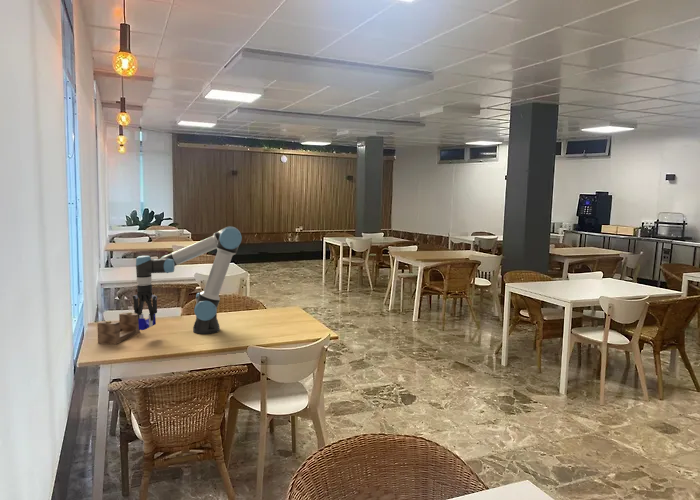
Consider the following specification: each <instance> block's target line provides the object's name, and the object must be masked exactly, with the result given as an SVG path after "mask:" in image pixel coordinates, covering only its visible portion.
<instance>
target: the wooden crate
mask: <svg viewBox="0 0 700 500" xmlns="http://www.w3.org/2000/svg"><path fill="white" fill-rule="evenodd" d="M118 318H119V321H111V320H107V321H106V320H105V321H104V320H101V321H99V322H97V344H103V345H104V344H105V345H106V344H107V345H117V344H119V343H122V342H124V341H125V340H128V339H129V338H132V337H134V336H135V335H137V334H140V332H141V330H139V321H138V314H135V313H134V312H132V311H131V312H121V313H119V315H118Z"/></svg>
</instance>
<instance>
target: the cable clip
mask: <svg viewBox="0 0 700 500" xmlns="http://www.w3.org/2000/svg"><path fill="white" fill-rule="evenodd" d="M149 315H150V313H148V316H149ZM138 321H139V330H140V331H145V330H147V329H149V328H150V327H149V317H148V318H147V319H146V318H139V319H138ZM156 321H157V320H156V314H154V320H153V326H155V325H156V323H157V322H156Z"/></svg>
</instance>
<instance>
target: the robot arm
mask: <svg viewBox="0 0 700 500" xmlns="http://www.w3.org/2000/svg"><path fill="white" fill-rule="evenodd" d="M242 239H243V238H242V233H241V232H240V230H239V229H238V228H237V227H235V226H234V225H233V226H232V225H228V226H225V227H223V228H222V229H220V230H219V231H216V232H214V233H213V234H212V236H209V237H207V238H205V239H201V240H200V241H197V242H195V243H193V244H190V245H188V246H185V247H183V248H180V249H177V250H175V251H173V252H171V253H169V254H166V255H162V256H161V257H160V258H159V259H157V258H156V259H152V258H151V256H150V255H138V256H137V257H136V258H135V270H136V271H135V272H136V284H137V286H136V289H137V293H136V294H134V295H132V296H131V297H132V299H133V310H134V311H133V313H135V314H138V319H139V318H144V313H143V308H144V304H145V303H146V305H147V309H148V312H149V313H148V318H149V328H151V327H153V326H154V325H153V320H154V314H155V315H156V314H157V313H158V302H157V301H158V295H155V294H154V293H153V285H152V284H153V283H152V282H153V281H152V280H153V279H152V278H153V277H152V274H169V273H174V272H175V270H176V269H175V267H177V266H178V265H181V264H182V263H185V262H188V261H190V260H193V259H195V258H197V257H199V256H202V255H205V254H206V253H208V252H212V251H213V250H217V252H216V254H215V257H214V260H213V263H212V265H211V268H210V271H209V274H208V277H207V280H206V282H205V285H204V289H203V291H200V292H197V293H196V295H195V302H196V303H195V306H194V310H193V311H194V315H195V321H194V323H193V326H192V332H193V333H195V334H197V335H198V334H200V335H209V334H215V333H216V334H217V333H218V332H220V329H221V328H220V326H221V325H220V323H219V321H218V315H217V314H218V313H217V312H218V306H219V304H220V301H221V298H220V296H219V295H220V292H221V290H222V287H223V284H224V281H225V279H226V275H227V272H228V270H229V267H230V265H231V261H232V258H233V256H234V255H236V254H237V253H238V249H239V246H240V245H241V243H242ZM149 314H150V315H149Z"/></svg>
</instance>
